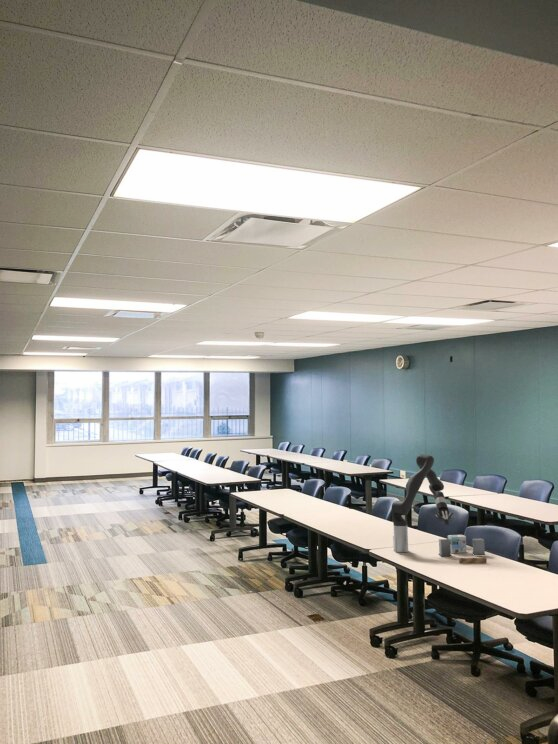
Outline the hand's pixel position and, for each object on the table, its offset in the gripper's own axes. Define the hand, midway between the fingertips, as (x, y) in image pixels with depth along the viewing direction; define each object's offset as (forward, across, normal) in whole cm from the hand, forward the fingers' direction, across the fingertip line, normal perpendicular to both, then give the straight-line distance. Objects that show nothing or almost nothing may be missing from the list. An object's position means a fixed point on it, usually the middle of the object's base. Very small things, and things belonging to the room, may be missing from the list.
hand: (447, 524), depth 424 cm
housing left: (+32, -11, -12) cm, 36 cm away
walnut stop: (+47, 0, -27) cm, 54 cm away
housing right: (+32, +11, -12) cm, 36 cm away
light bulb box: (+25, 0, -5) cm, 26 cm away
